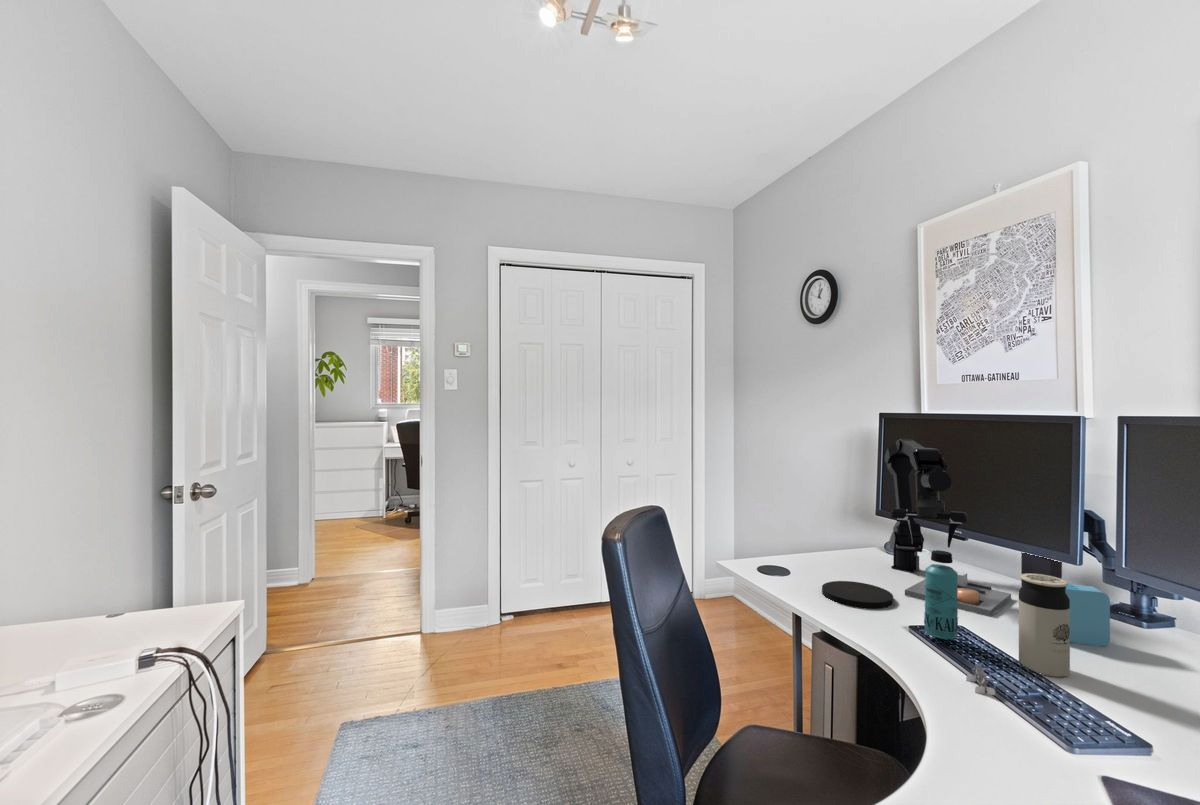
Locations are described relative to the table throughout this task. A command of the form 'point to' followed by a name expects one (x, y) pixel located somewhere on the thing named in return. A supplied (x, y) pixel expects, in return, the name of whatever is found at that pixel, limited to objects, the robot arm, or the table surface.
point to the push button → (967, 596)
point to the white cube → (962, 578)
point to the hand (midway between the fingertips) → (929, 545)
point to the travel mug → (1044, 625)
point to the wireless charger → (857, 594)
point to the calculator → (1040, 566)
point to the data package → (1089, 615)
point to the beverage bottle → (941, 597)
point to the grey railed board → (987, 604)
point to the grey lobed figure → (980, 681)
